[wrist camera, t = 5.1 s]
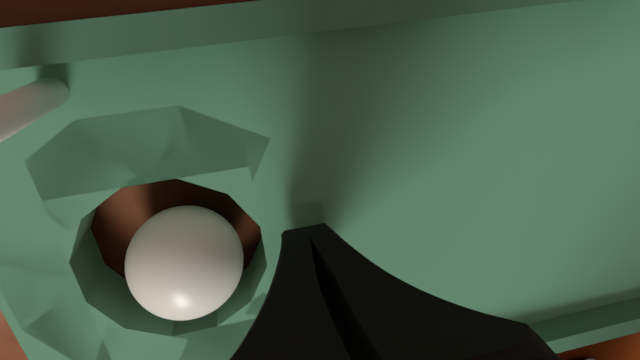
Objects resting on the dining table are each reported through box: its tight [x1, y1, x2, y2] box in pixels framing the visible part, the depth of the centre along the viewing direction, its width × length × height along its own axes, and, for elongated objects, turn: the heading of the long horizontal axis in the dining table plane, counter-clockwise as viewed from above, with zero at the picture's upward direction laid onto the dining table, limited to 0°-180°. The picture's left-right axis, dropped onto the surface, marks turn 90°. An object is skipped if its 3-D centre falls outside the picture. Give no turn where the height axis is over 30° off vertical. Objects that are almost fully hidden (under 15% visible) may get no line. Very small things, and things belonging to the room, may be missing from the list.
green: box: [0, 0, 640, 360], centre depth 14 cm, size 14×24×3 cm, turn 95°
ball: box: [125, 205, 244, 321], centre depth 13 cm, size 4×4×4 cm
